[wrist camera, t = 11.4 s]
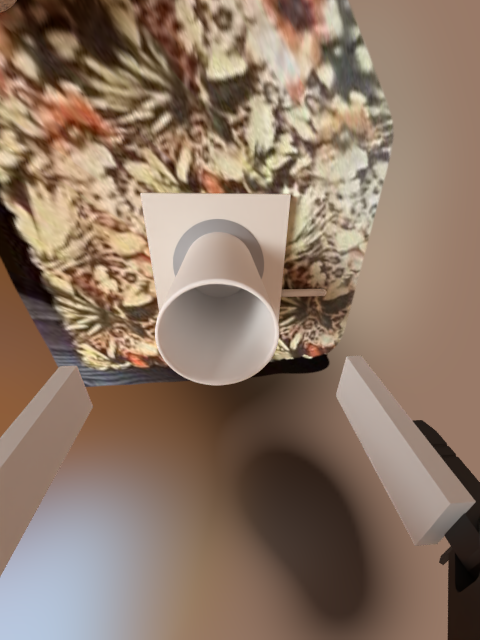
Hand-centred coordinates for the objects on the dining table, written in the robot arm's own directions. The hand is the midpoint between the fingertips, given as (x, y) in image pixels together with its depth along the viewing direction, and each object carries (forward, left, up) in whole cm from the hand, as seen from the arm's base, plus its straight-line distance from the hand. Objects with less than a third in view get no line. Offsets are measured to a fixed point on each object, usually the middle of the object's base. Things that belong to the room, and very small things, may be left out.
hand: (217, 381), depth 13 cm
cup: (0, 0, -21) cm, 21 cm away
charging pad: (0, +3, -22) cm, 22 cm away
